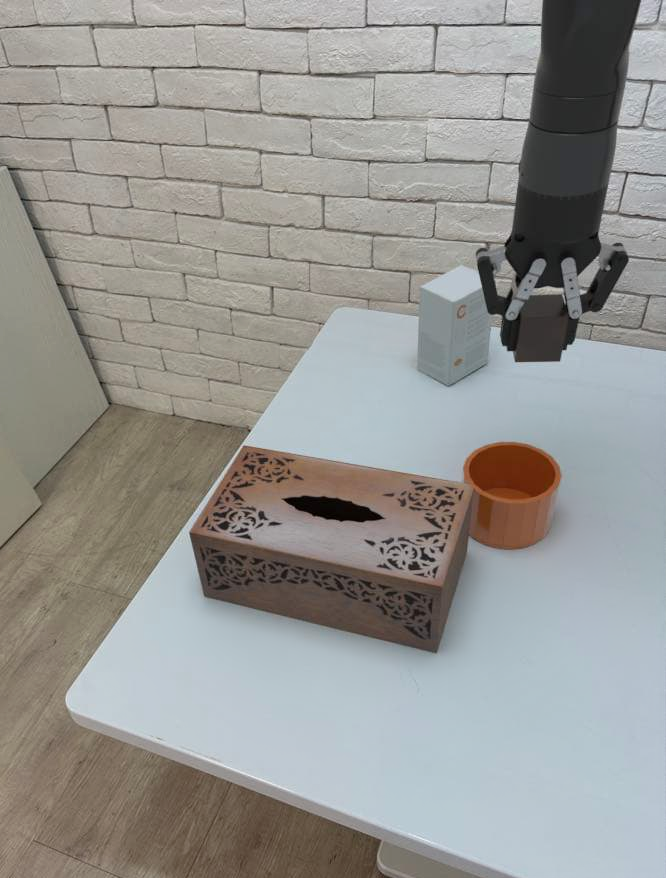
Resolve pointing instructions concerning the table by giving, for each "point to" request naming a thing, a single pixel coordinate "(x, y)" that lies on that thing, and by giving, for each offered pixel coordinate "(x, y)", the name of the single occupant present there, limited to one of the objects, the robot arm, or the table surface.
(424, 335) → the small box
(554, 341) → the walnut block
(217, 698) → the table surface
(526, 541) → the round open container
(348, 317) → the table surface
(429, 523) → the tissue box cover
